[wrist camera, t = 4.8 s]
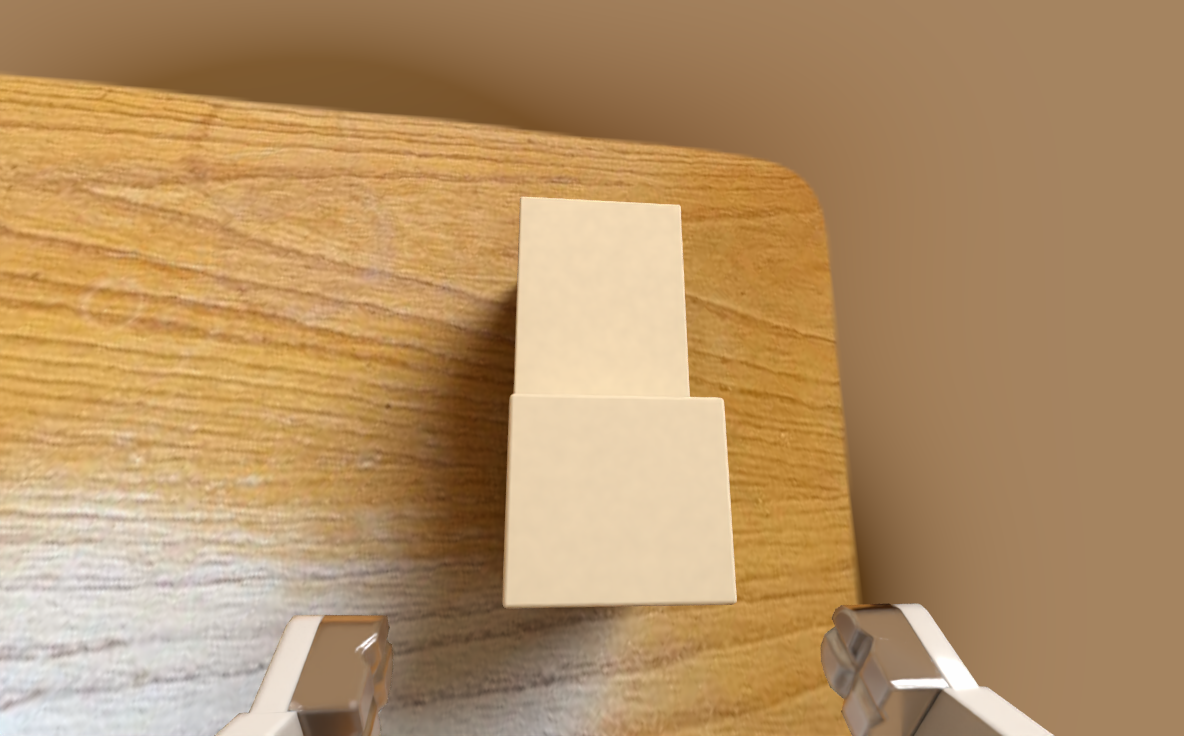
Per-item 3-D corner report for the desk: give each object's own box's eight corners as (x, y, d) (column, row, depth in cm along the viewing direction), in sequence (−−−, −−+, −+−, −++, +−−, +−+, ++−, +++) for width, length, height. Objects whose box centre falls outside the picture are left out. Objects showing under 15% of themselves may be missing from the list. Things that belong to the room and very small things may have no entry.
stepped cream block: (643, 283, 21) (708, 144, 14) (652, 574, 19) (739, 605, 11) (522, 278, 21) (518, 132, 13) (512, 575, 18) (502, 609, 11)
